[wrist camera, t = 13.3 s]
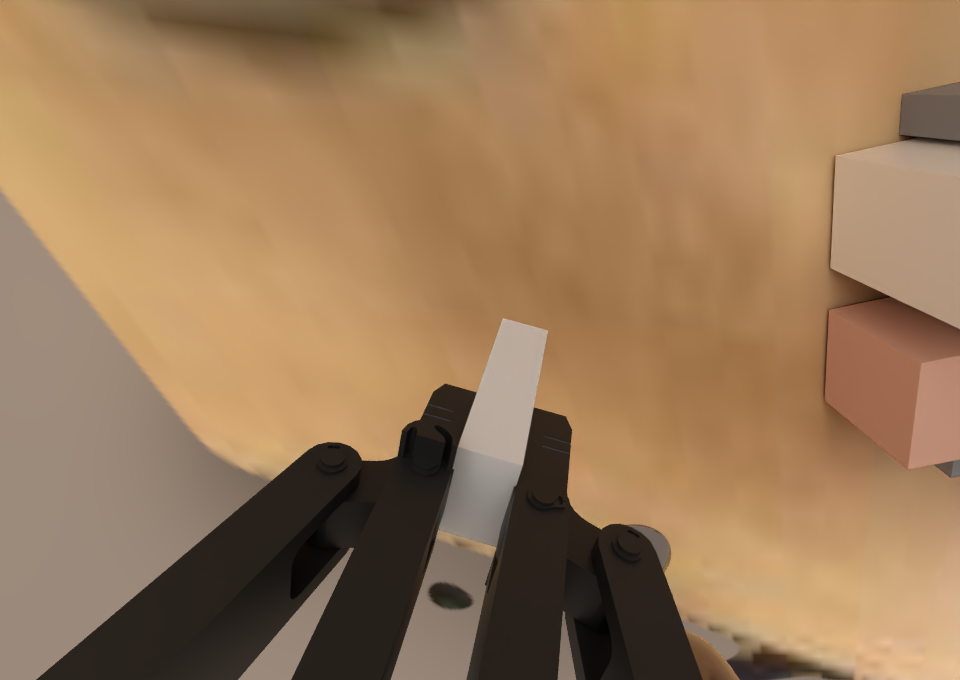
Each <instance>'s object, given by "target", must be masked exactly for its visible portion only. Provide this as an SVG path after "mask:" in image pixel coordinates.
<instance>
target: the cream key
mask: <svg viewBox="0 0 960 680" xmlns="http://www.w3.org/2000/svg"><path fill="white" fill-rule="evenodd" d="M830 268H831V269H833V270H835V271H837V272H840V273H842V274H844V275H846V276H848V277H850V278H852V279H854V280H857V281H859V282H861V283H863V284H865V285H867V286H869V287H871V288H874V289H876V290H878V291H880V292H882V293H884V294H886V295H888V296H891V297H893V298H895V299H897V300H899V301H901V302H903V303H905V304H908V305H910V306H912V307H914V308H916V309H918V310H920V311H922V312H925V313H927V314H929V315H931V316H933V317H935V318H937V319H939V320H942V321H944V322H946V323H948V324H950V325H952V326H954V327H956V328H959V329H960V141H956V140H947V139H937V138H928V137H919V138H914V139H910V140H905V141H900V142H896V143H891V144H886V145H882V146H877V147H873V148H868V149H863V150H859V151H854V152H849V153H845V154H840V155H836V161H835V182H834V203H833V224H832V245H831V266H830Z"/></svg>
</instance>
